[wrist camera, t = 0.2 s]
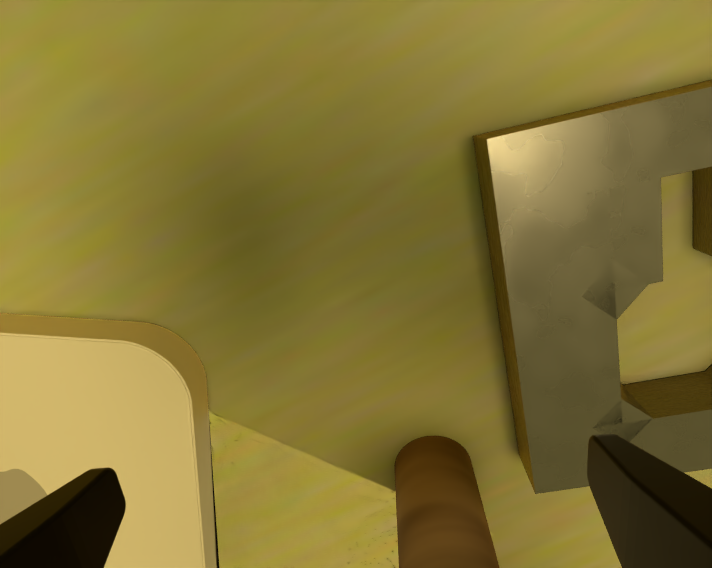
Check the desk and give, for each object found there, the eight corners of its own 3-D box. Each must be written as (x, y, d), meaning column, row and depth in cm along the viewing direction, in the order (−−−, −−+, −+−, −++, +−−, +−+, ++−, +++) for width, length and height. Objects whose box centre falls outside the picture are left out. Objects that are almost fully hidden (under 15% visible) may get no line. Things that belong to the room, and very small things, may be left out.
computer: (205, 322, 26) (186, 345, 23) (224, 608, 33) (211, 649, 31) (-185, 298, 26) (-245, 317, 24) (-81, 584, 34) (-118, 622, 31)
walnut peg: (491, 499, 28) (560, 735, 18) (393, 513, 29) (401, 748, 18) (476, 416, 27) (543, 624, 16) (372, 434, 27) (367, 643, 16)
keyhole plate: (821, 407, 25) (876, 444, 23) (519, 454, 27) (535, 494, 24) (858, 45, 20) (938, 33, 17) (472, 135, 22) (486, 139, 19)
